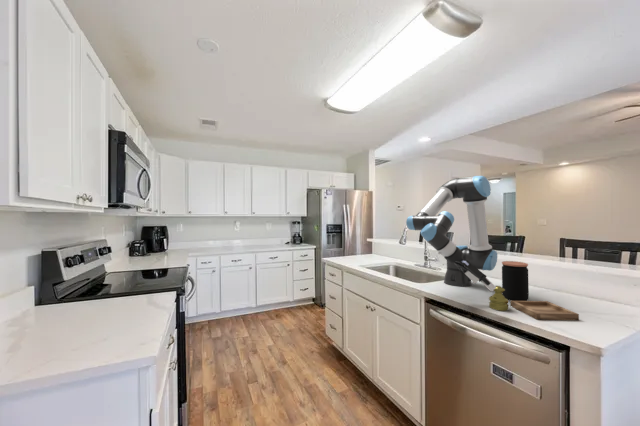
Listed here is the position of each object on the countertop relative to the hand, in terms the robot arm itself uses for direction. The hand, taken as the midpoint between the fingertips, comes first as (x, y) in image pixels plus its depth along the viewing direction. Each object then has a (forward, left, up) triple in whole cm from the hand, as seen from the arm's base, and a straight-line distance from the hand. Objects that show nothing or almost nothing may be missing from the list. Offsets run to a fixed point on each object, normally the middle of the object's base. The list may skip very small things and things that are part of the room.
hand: (484, 285), depth 120 cm
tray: (+4, +21, -11) cm, 24 cm away
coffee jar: (-15, +22, -11) cm, 29 cm away
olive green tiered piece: (-1, +6, -11) cm, 12 cm away
